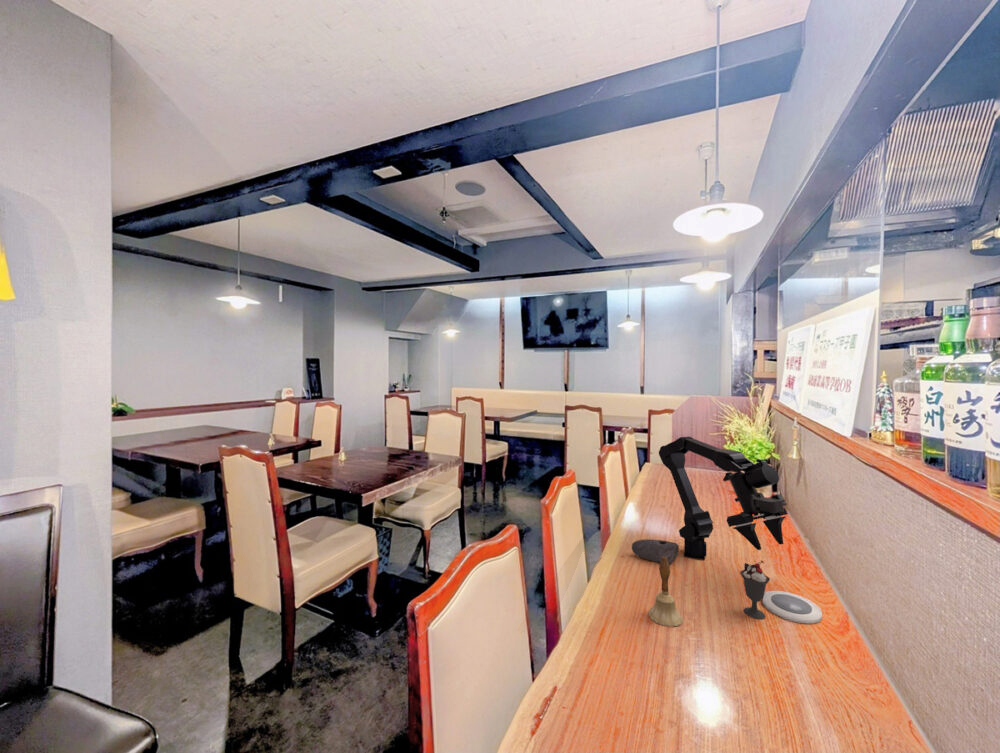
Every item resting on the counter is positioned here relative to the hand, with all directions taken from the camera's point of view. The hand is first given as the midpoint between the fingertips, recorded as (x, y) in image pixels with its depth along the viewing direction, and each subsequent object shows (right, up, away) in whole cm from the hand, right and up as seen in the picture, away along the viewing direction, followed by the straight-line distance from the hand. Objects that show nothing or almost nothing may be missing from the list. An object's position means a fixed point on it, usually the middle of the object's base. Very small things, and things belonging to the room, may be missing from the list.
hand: (770, 547), depth 115 cm
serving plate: (+1, -14, -6) cm, 15 cm away
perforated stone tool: (-25, -14, +22) cm, 36 cm away
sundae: (-10, -14, -9) cm, 19 cm away
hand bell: (-34, -14, -10) cm, 38 cm away
